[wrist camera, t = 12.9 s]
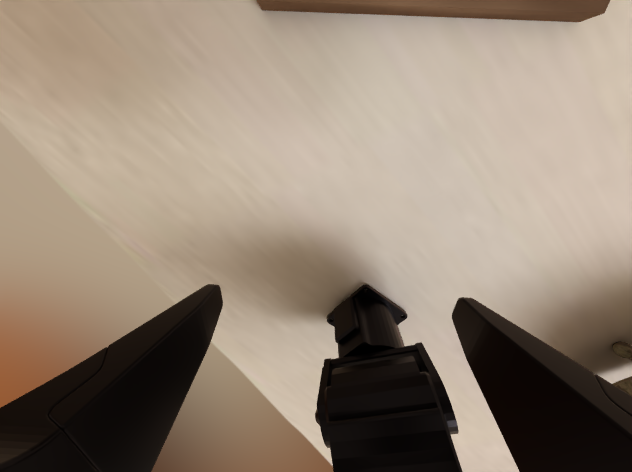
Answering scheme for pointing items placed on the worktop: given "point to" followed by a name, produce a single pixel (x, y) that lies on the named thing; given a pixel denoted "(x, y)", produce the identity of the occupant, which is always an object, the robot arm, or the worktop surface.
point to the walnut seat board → (452, 8)
